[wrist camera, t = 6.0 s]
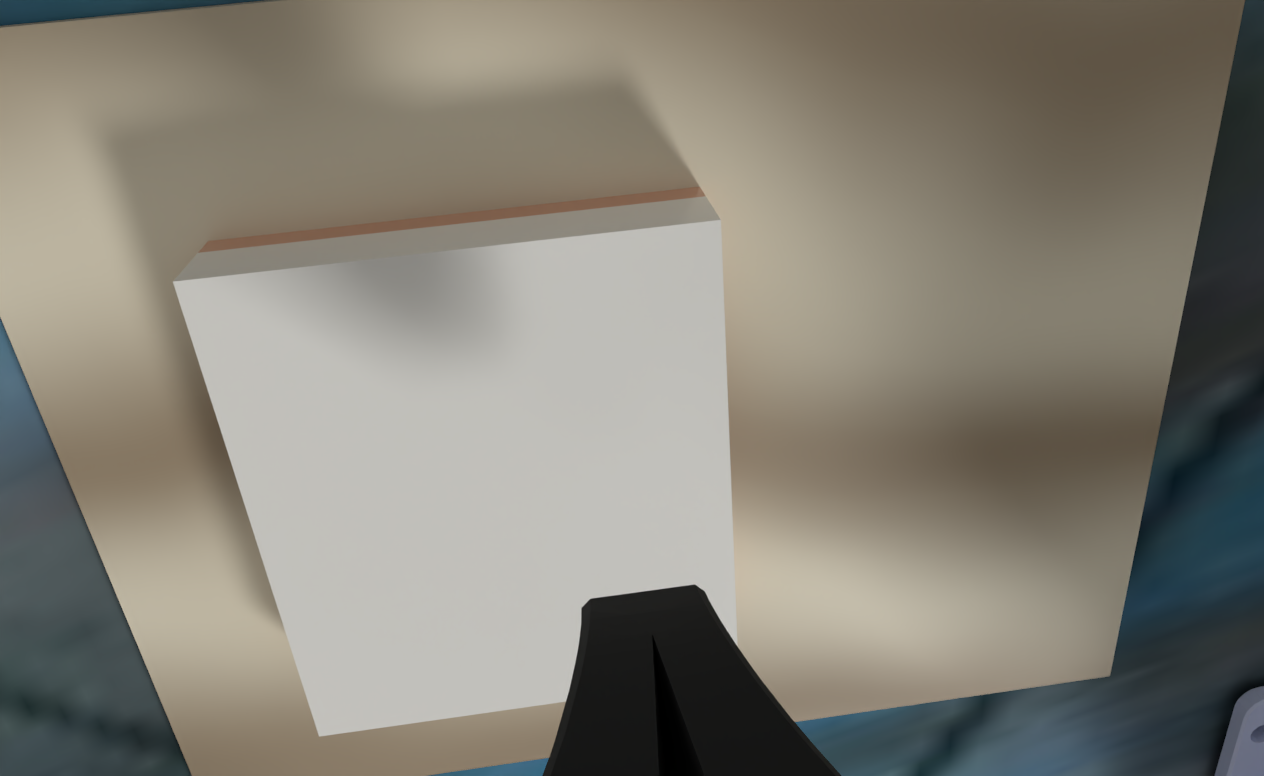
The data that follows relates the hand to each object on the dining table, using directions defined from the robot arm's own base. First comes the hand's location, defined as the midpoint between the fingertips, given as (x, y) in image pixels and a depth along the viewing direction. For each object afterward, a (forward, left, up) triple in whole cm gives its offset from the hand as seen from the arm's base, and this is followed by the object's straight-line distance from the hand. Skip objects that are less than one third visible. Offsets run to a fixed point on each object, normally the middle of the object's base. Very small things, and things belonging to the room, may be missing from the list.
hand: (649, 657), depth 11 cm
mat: (0, -1, -5) cm, 5 cm away
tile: (0, -2, -4) cm, 5 cm away
